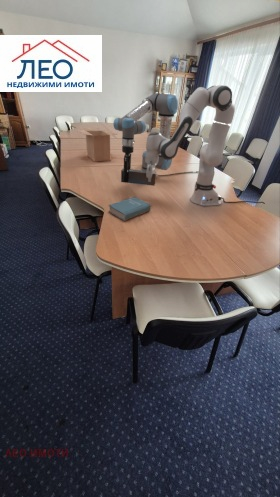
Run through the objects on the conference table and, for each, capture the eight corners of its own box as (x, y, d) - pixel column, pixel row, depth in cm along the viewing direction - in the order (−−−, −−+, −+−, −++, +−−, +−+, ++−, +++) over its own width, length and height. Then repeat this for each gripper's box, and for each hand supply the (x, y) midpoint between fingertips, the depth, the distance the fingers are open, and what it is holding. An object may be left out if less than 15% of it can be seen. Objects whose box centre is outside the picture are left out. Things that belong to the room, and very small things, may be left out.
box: (120, 162, 240) (121, 134, 224) (89, 164, 226) (86, 135, 210) (106, 152, 270) (105, 127, 254) (77, 154, 256) (74, 127, 240)
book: (133, 203, 159) (134, 196, 156) (150, 211, 150) (150, 204, 147) (108, 212, 145) (108, 205, 142) (125, 221, 137) (125, 214, 134)
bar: (121, 182, 157) (121, 170, 152) (122, 179, 161) (122, 168, 156) (154, 185, 155) (155, 174, 150) (155, 183, 159) (156, 171, 154)
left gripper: (130, 149, 137) (129, 185, 151) (135, 143, 151) (134, 177, 165) (119, 148, 138) (118, 184, 152) (125, 142, 152) (124, 176, 166)
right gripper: (154, 164, 139) (152, 185, 147) (157, 156, 155) (155, 176, 163) (144, 163, 139) (143, 184, 148) (149, 155, 156) (147, 175, 164)
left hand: (126, 180), depth 158 cm, fingers closed on bar, 5 cm apart
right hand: (150, 180), depth 156 cm, fingers closed on bar, 5 cm apart
